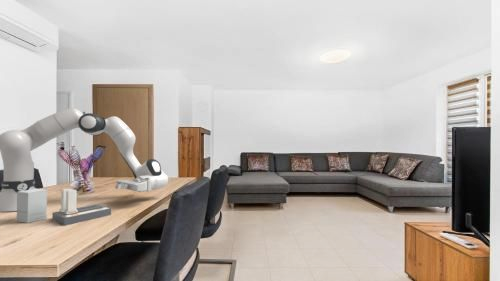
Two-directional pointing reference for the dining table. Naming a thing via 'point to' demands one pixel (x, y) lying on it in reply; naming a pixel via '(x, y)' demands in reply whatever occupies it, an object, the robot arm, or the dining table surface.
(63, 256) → the dining table surface
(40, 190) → the supplement box
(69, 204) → the switch knob
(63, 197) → the switch knob
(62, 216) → the switch panel
